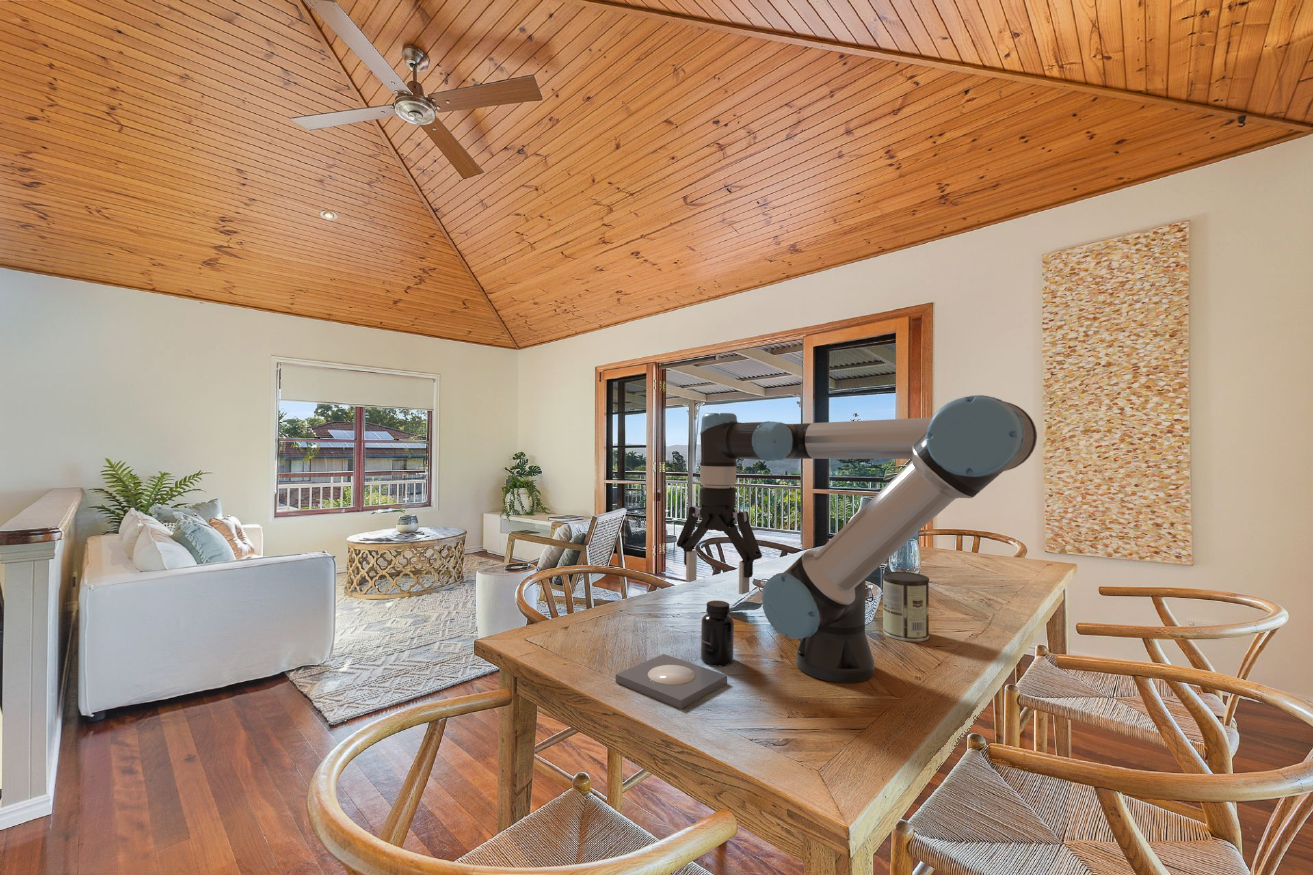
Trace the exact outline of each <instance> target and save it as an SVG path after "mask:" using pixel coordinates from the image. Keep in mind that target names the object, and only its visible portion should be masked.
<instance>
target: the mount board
mask: <svg viewBox="0 0 1313 875" xmlns="http://www.w3.org/2000/svg"><path fill="white" fill-rule="evenodd" d="M615 683H616V684H619V685H622V686H624V687H627V688H629V689H631V690H634V691H637V692H638V693H641V694H643V695H645V696H648V697H650V698H653V699H655V700H658V701H661V702H663V703H664V704H668V705H670V706H672V707H675V708H677V709H679V710H682V709H684V708H686V707H687V706H689V705H691V704H693V703H694V702H696V701H698V700H700V699H701V698H703V697H705V696H707V695H708V694H711V693H712V692H714V691H716V690H718V689H720V688H721V687H723V686H725V685H727V684H728V675H727V674H724V673H721V672H719V671H716V670H712V669H710V668H706V667H704V666H700V665H698V664H694V663H692V662H689V661H686V660H683V659H680V658H677V657H674V656H671V655H668V654H666V653H663V654H660V655H658V656H655V657H653V658H651V659H649V660H645V661H644V662H642V663H639V664H637V665H633V666H632V667H630V668H627V669H624V670H623V671H620V672H618V673H616V674H615Z"/></svg>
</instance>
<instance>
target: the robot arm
mask: <svg viewBox="0 0 1313 875" xmlns="http://www.w3.org/2000/svg"><path fill="white" fill-rule="evenodd" d="M737 417H738V416H737V415H736V414H735V413H733V412H731V413H730V412H707V413H705V414H703V416H702V418H701V424H700V425H701V426H700V433H699V434H700V460H701V461H700V467H699V469H700V472H699V473H700V474H699V476H700V477H699V478H700V479H699V483H700V485H702V486H701V487H700V489H699V503H700V505H701V507H700V506H699V505H694V506H690V507H688V513H687V514H688V515H687V518H686V521H685V522H684V525H683V528H682V529H681V532H680V535H679V537H678V539H677V541H676V546H677V547H678V548H681V549H682V550H683V564H684V566H686V569H685V570H686V572H685V582H686V583H691V582H694V581H697V569H698V568H697V566H698V565H697V564H698V562H697V560H698V558H697V556H698V551H697V550H696V547H697V545H698V543H700V541H701V540H702V538H703V537H704V536H705V535H706V534H707V532H708V531H717V532H723V533H724V534H725V535H726V536H727V537H728V539H729V540H730V541H731V544H732V545H733V547H734V548H735V550H736V551H737V553H738V554H739V556H740V558H741V559H742V560H740V561H739V562H738V565H739V566H738V594H739V595H745V594H747V593H750V578H752V577H753V574H754V567H753V566H754V561H755V560H759V559H762V556H763V554H762V551H761V549H760V547H759V544H758V541H757V539H756V536H755V534H754V532H753V528H752V527H751V524H750V517H749V512H748V511H746V510H745V511H739V512H736V510H735V506H736V503H737V500H736V499H737V489H736V488H735V487H734V486H735V485H736V484H737V460H742V459H744V460H755V461H766V462H771V461H772V462H774V461H782V460H806V459H807V460H808V459H809V460H811V459H819V460H820V459H824V460H825V459H831V460H837V459H838V460H840V459H842V460H843V459H844V460H845V459H846V460H847V459H849V460H854V459H856V460H857V459H858V460H860V459H861V460H862V459H863V460H866V459H867V460H872V459H873V460H911V461H910V462H909V463H908V464H907V465H905V467H904V468H902V470H900V471H899V472H898V474H896V476H894V477H893V478H892V479H891V480H890V481H889V482H888V483H887V484H886V485H885V486H884V487H883V488H882V489H881V490H880V491H879V492H878V493H877V494H876V495H875V496H874V497H873V498H871V500H869V502H868V503H866V505H865V506H864V507H863V508H861V510H859V511H858V512H857V513H856V514H855V515H854V516H853V517H852V518H851V519H850V520H849V521H848V522H847V523H846V524H845V525H844V526H843V527H841V529H840V530H839V531H838V532H837V533H836V534H835V535H834V536H833V537H832V538H830V539H829V540H828V541H827V542H826V544H824V546H822V547H821V548H820V549H819V550H813V549H811V550H806V551H805V552H804V553H803V554H802V555H801V556H800V557H799V558H797V560H795V561H794V562H793V563H792V565H791V566H789V567H788V568H787V569H786V570H784V571H783V572H780V573H776V574H774V575H772V577H770V578H769V579H767V581H766V582H765V584H764V586H763V588H762V592H761V600H762V611H763V613H764V615H765V617H766V619H767V621H768V623H769V624H770V625H771V626H772V628H773V629H774V630H775V631H776V632H778V633H779V634H780V635H782V636H783V637H787V638H789V639H793V640H800V642H799V643H798V644H799V645H798V646H797V647H798V648H797V651H796V666H797V667H798V669H799V670H800V671H802V672H803V673H804V674H806V675H808V676H810V677H813V678H816V679H818V680H822V681H827V682H834V683H842V684H843V683H844V684H845V683H846V684H847V683H849V684H853V683H854V684H855V683H860V682H861V683H862V682H865V681H868V680H871V679H872V678H873V677H874V676H875V660H874V657H873V656H874V655H873V654H872V650H871V648H870V644H869V642H868V641H869V640H868V638H867V634H866V584H867V582H866V579H867V578H868V577H869V576H870V575H871V574H872V573H873V572H875V571H876V570H877V569H878V568H879V567H880V566H881V565H882V564H884V563H885V561H887V560H888V559H889V558H890V557H891V556H893V555H894V554H895V553H896V552H897V551H898V550H899V549H900V548H902V547H903V546H904V545H905V544H906V543H907V542H909V541H910V540H911V539H912V538H913V537H914V536H915V535H916V534H917V533H918V532H920V531H921V530H922V529H923V528H924V527H925V526H926V525H927V524H929V523H930V522H931V521H933V519H934V518H936V516H938V515H939V514H940V513H941V512H942V511H944V510H945V509H947V507H948V506H949V505H950V504H951V503H953V502H954V501H955V500H957V499H973V498H974V497H976V495H978V494H979V493H980V492H981V491H982V490H983V489H985V488H986V487H987V486H988V485H989V484H991V483H992V482H993V481H994V480H996V478H998V477H999V476H1000V475H1001V474H1002V473H1003V472H1007V471H1010V470H1013V469H1016V468H1018V467H1019V466H1021V465H1022V464H1024V463H1025V462H1026V461H1027V460H1028V459H1029V458H1030V457H1031V456H1032V454H1033V452H1034V450H1035V449H1036V445H1037V439H1038V432H1037V427H1036V425H1035V423H1034V421H1033V418H1032V417H1031V416H1030V415H1029V414H1028V413H1027V411H1025V410H1024V409H1023V408H1022V407H1020V406H1018V405H1016V404H1013V403H1011V402H1007V401H1004V400H1003V399H999V398H997V397H994V396H989V395H981V394H980V395H979V394H978V395H977V394H976V395H969V396H963V397H960V398H959V397H958V398H957V399H954V400H951V401H950V402H948V403H946V404H944V405H943V406H942V407H941V408H939V409H938V410H937V411H936V413H935V414H934V415H933V416H932V417H917V418H916V417H915V418H914V417H912V418H897V419H896V418H893V419H873V420H871V419H870V420H869V419H868V420H852V421H850V420H849V421H833V422H832V421H830V422H828V421H827V422H812V423H809V422H807V423H805V422H804V423H784V422H779V421H778V422H777V421H768V420H767V421H754V422H739V421H738V418H737ZM700 517H701V521H700V522H699V524H698V525H697V523H698V520H699V518H700ZM734 521H735V522H736V523H737V525H738V526H737V525H736V523H735V522H734ZM696 525H697V528H696V529H695V527H696ZM694 529H695V530H694Z"/></svg>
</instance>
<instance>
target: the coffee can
mask: <svg viewBox="0 0 1313 875" xmlns="http://www.w3.org/2000/svg"><path fill="white" fill-rule="evenodd" d="M882 582H883V583H882V598H883V599H882V601H883V602H882V610H883V611H882V612H883V613H882V614H883V615H882V616H883V617H882V618H883V619H882V620H883V621H882V622H883V625H882V626H883V627H882V629H883V630H882V632H883V634H884V635H885V636H886V637H889V638H892V639H895V640H899V641H904V642H911V643H912V642H916V643H917V642H918V643H919V642H924V641H927V640H929V638H930V634H929V633H930V632H929V630H930V628H929V627H930V625H929V624H930V621H929V620H930V619H929V618H930V617H929V615H930V613H929V612H930V610H929V607H930V606H929V604H930V603H929V600H930V599H929V597H930V596H929V594H930V593H929V591H930V590H929V587H930V586H929V582H930V578H929V577H928V576H927V575H924V574H920V573H917V572H911V571H886V572H883V573H882Z"/></svg>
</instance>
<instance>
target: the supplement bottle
mask: <svg viewBox="0 0 1313 875" xmlns="http://www.w3.org/2000/svg"><path fill="white" fill-rule="evenodd" d="M705 612H706V614H705V615H703V617H702V618H701V627H700V629H701V631H700V632H701V635H700V639H701V640H700V659H701V660H702V661H703V663H705V664H707V665H709V666H714V667H724V666H728V665H730V664H731V663H732V662H733V661H734V649H735V648H734V647H735V646H734V642H735V641H734V640H735V638H734V637H735V622H734V621H735V620H734V619H733V617H732V616H730V614H731V612H730V604H729V602H727V601H725V600H710V601H707V602H706V609H705Z"/></svg>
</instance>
